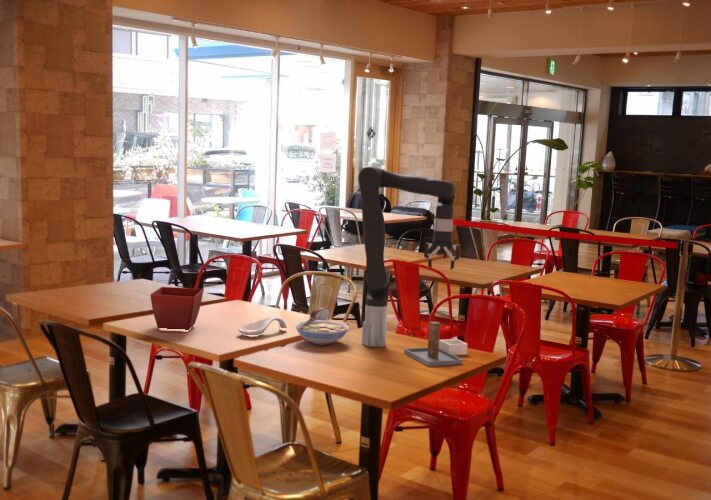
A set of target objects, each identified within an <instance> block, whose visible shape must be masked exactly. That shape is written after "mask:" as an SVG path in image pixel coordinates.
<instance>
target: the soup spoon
mask: <svg viewBox="0 0 711 500" xmlns="http://www.w3.org/2000/svg"><path fill="white" fill-rule="evenodd" d="M330 315H331V310H330V309H329V308H328V307H325V306H320V307H317V308H314V309H313V310H312V311H311V312H310V316H309V319H310V318H311V317H313V318H312V319H314V318H315V317H317V318H316V319H315V320H323V321H328V320H329V321H330ZM312 319H311V320H312ZM311 320H310V321H311Z"/></svg>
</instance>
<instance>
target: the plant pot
mask: <svg viewBox="0 0 711 500" xmlns="http://www.w3.org/2000/svg"><path fill="white" fill-rule="evenodd" d="M203 293H204V289H202V288H192V287H190V288H188V287H172V286H171V287H170V286H161V287H159V288H157V289H156V290H155V291H152V292H151V293H150V294H149V295H150V301H151V302H150V303H151V307H152V312H153V316H154V319H155V322H156V326H157V329H158V328H167V329H185V330H189V329H190V328H191V327H192V326H193V325H194V324H196V322H197V319H198V315H199V313H200V308H201V305H202V300H203ZM194 326H195V325H194Z"/></svg>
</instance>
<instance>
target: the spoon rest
mask: <svg viewBox="0 0 711 500" xmlns="http://www.w3.org/2000/svg"><path fill="white" fill-rule="evenodd" d="M274 321H276V322H278V323H279V328H280V327H281V328H287V329H288V327H287V324H286V322H285V321H284V320H283V319H282V318H279V317H278V318H277V317H275V316H267V317H265V318H263V319H260V320H256V321H255V322H250V323H247V324H244V325H240V326H239V327H238V328H237V331H238V332H239V333H240V334H241V333H242V334H245V335H259V334H262V333H263V334H264V333H265V331H266V330H267V328H268V327H269V326H270V324H271V323H272V322H274ZM246 330H257V331H252V332H247V331H246ZM242 334H241V335H242ZM263 334H262V335H263Z"/></svg>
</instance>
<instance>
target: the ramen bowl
mask: <svg viewBox="0 0 711 500" xmlns="http://www.w3.org/2000/svg"><path fill="white" fill-rule="evenodd" d="M312 318H313V317H311V318H310V317H309V318H308V319H307V320H304V321H303V320H302V321H299V322H297V323H295V326H294V327H295V329H296V330H297V332H298V334H299V335H300V336H301V338H303V339H305V340H306V341H308V342H311V343H313V344H314V345H318V346H325V345H327V346H328V345H330V344H331V343H335V342H337V341H339V340H341V339H343V338H344V336H345V335H346V334H347V333H348V330H349V328H350V326H349V325H348V324H346V323H344V322H339V321H333V320H329V321H323V320H315V319H316V318H317V317H315V318H314V319H312ZM311 319H312V320H311ZM310 320H311V321H310Z"/></svg>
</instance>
